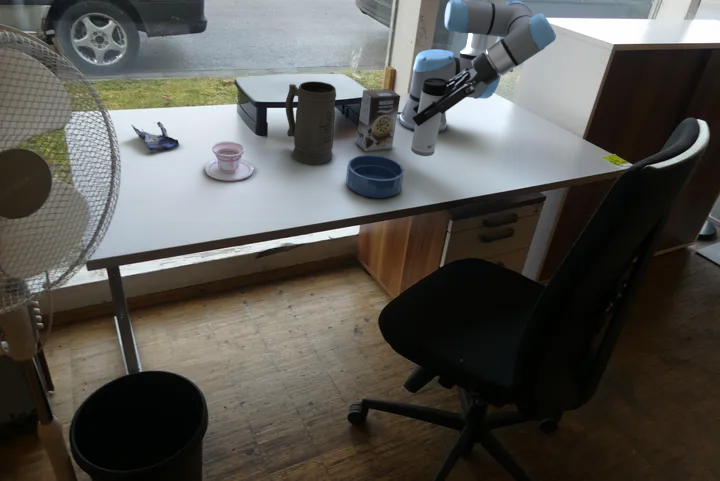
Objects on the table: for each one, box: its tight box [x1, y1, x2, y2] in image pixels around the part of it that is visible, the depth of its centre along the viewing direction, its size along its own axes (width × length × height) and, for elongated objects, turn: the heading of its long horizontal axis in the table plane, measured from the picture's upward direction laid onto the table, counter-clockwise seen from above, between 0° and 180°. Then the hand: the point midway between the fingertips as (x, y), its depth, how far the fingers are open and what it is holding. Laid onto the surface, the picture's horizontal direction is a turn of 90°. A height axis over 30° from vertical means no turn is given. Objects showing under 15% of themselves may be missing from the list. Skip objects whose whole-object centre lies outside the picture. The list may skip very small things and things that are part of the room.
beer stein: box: [285, 80, 337, 165], centre depth 151 cm, size 15×11×20 cm
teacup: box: [204, 140, 254, 182], centre depth 141 cm, size 12×12×6 cm
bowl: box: [345, 154, 405, 199], centre depth 143 cm, size 14×14×6 cm
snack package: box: [130, 121, 180, 154], centre depth 149 cm, size 12×6×12 cm
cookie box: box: [355, 88, 401, 152], centre depth 162 cm, size 9×6×16 cm
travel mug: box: [410, 78, 450, 157], centre depth 148 cm, size 6×7×20 cm
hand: (415, 116), depth 148 cm, fingers closed on travel mug, 6 cm apart
